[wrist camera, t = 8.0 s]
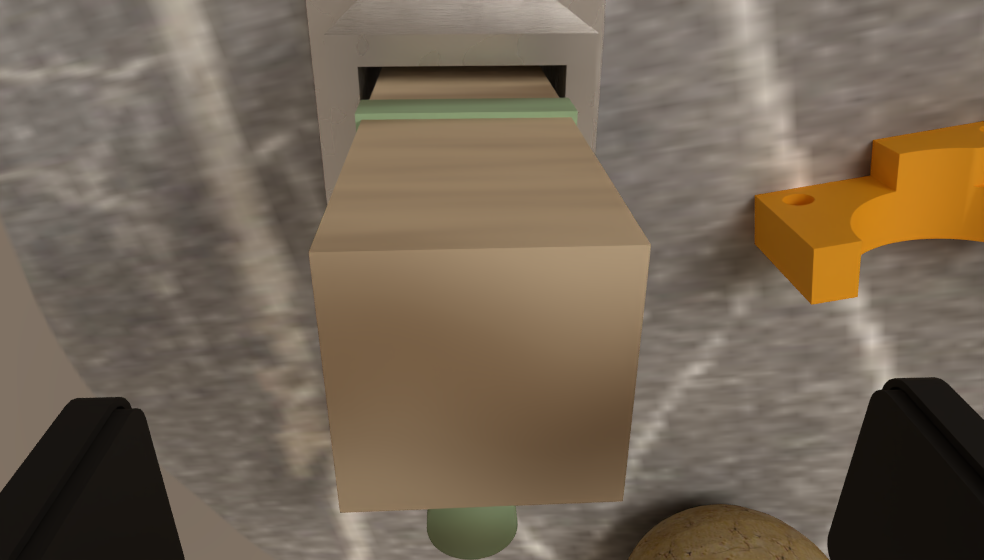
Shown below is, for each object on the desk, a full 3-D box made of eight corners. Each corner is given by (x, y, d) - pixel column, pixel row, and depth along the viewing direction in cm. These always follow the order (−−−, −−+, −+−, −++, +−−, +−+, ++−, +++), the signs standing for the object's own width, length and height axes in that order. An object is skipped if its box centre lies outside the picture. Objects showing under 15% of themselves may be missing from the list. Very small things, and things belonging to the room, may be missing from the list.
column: (378, 60, 24) (297, 243, 11) (542, 59, 25) (662, 236, 11) (388, 215, 27) (332, 518, 13) (537, 212, 27) (630, 507, 14)
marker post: (399, 262, 35) (374, 458, 23) (523, 259, 36) (566, 451, 23) (405, 366, 38) (386, 594, 25) (520, 363, 38) (558, 586, 26)
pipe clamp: (1009, 115, 34) (1123, 156, 28) (994, 201, 36) (1099, 256, 30) (753, 159, 34) (815, 208, 29) (753, 242, 36) (811, 304, 31)
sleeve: (304, -56, 29) (242, -41, 20) (604, -56, 30) (673, -42, 21) (332, 225, 34) (294, 335, 25) (586, 220, 35) (635, 326, 26)
